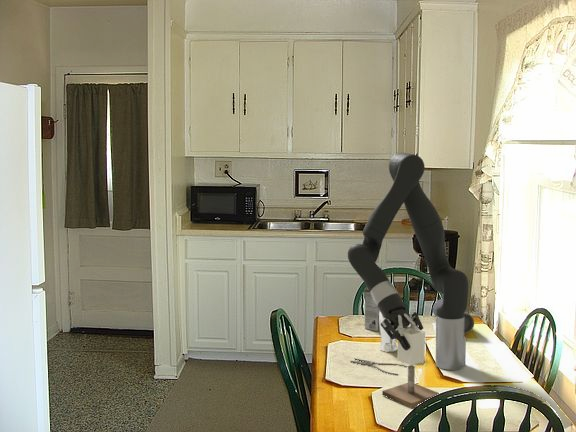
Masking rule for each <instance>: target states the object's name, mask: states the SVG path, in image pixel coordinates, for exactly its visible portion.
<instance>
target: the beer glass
mask: <svg viewBox="0 0 576 432" xmlns="http://www.w3.org/2000/svg"><path fill="white" fill-rule="evenodd" d="M384 319H386V318H384V317H383V315H382V314H381V312H380V311H379V328H380V330H379V332H380V346H379V350H380V351H381V350H382V351H381V352H384V351H385V353H394V352H396V351H398V345H397V339H393V340H392V339H391V338H390V337H389V335H388V334H387V333H386V331H385V330H384V329H383V327H382V326H381V323H382V322H383V320H384ZM391 333H392V331H391ZM392 334H393V333H392Z"/></svg>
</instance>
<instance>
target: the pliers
mask: <svg viewBox="0 0 576 432" xmlns="http://www.w3.org/2000/svg"><path fill="white" fill-rule="evenodd" d="M354 359H355V360H354ZM354 359H353V360H350V363H352V362H353V363H352V364H355V363H357V364H356V365H358V364H361V365H360V366H365V365H368V366H367V367H370V366H372V367H371V368H373V367H374V368H373V369H375V368H377V369H378V370H377V369H376V370H377V371H379V370H380V371H379V372H381V371H382V372H381V373H384V372H385V373H384V374H387V373H388V375H392V374H393V376H399V374H398V373H394V372H389V371H385V370H383V369H381V368H380V367H378V366H396V365H399V367H403V366H404V368H407V367H408V366H409V365H404V364H398V363H388V362H387V363H386V362H375V361H371V360H368V359H367V360H365V359H360V358H354ZM356 360H359V361H356ZM360 361H361V362H360ZM362 361H364V362H362ZM373 364H378V365H373Z"/></svg>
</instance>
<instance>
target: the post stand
mask: <svg viewBox="0 0 576 432" xmlns="http://www.w3.org/2000/svg"><path fill="white" fill-rule="evenodd" d="M407 366H408V368H407V382H406V383H403V384H399V385H397V386H394V387H391V388H390V387H389V388H387V389H385V390H382V394H381V395H385V396H387V397H388V398H387V399H389V398H391V399H393V400H395V401H394V402H396V401H397V402H396V403H398V402H399V403H398V404H400V403H401V404H400V405H403V406H405V405H406V406H405V407H407V406H408V408H410V407H411V408H410V409H414V408H416V407H415V406H417V405H418V404H420V403H422V402H424V401H425V400H427V399H429V398H431V397H433V396H435V395H437V394H439V393H440V392H438V391H435V390H432V389H430V388H427V387H424V386H422V385H419V384H417V383H415V376H416V375H415V368H416V367H415V365H409V364H408V365H407ZM391 399H390V400H391ZM393 400H392V401H393ZM413 407H414V408H413ZM417 407H418V406H417Z"/></svg>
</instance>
